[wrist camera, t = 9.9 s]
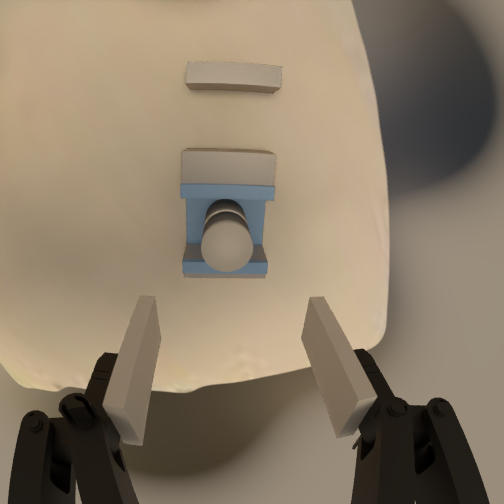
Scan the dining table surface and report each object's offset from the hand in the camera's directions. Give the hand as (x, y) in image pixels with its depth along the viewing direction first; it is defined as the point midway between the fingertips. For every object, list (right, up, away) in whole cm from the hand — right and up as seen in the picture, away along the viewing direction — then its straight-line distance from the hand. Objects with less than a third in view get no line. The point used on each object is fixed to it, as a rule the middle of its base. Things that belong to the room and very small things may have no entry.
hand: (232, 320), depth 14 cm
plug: (-2, +7, +15) cm, 17 cm away
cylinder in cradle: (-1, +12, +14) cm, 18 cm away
